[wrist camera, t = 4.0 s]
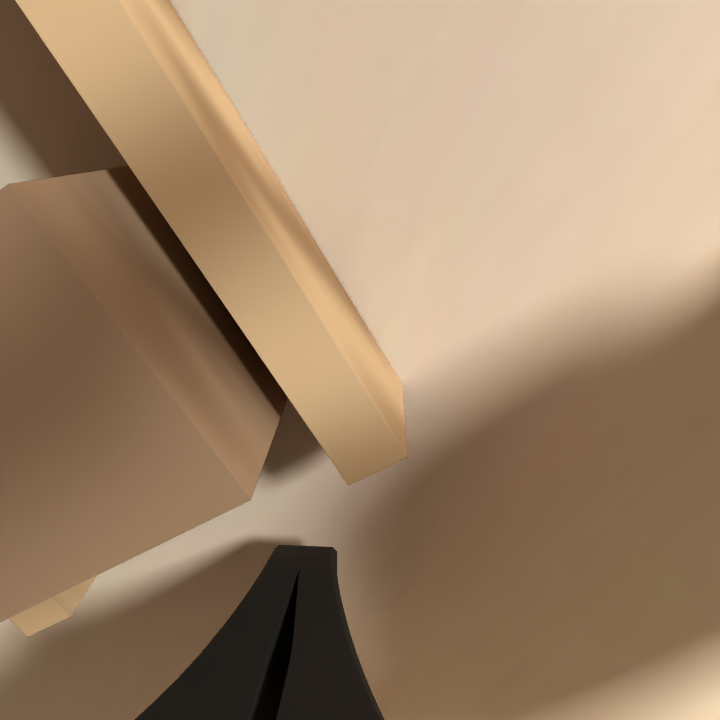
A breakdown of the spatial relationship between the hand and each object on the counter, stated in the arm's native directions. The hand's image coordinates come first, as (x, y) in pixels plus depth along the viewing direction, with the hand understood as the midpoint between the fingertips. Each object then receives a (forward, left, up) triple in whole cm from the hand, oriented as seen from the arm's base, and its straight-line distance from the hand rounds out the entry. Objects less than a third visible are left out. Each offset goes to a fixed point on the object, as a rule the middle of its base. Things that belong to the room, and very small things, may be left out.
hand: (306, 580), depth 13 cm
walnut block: (+7, 0, -2) cm, 7 cm away
